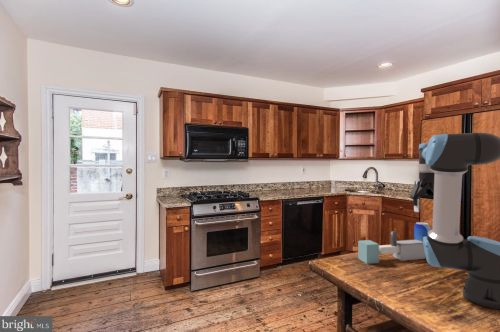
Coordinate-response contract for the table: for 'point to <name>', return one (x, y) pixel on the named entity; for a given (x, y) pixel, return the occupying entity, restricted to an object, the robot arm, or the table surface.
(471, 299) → the robot arm
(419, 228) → the beer can
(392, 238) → the sliding bolt with handle
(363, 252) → the socket block
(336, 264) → the table surface
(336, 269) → the table surface
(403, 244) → the white rectangular box
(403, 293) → the table surface
